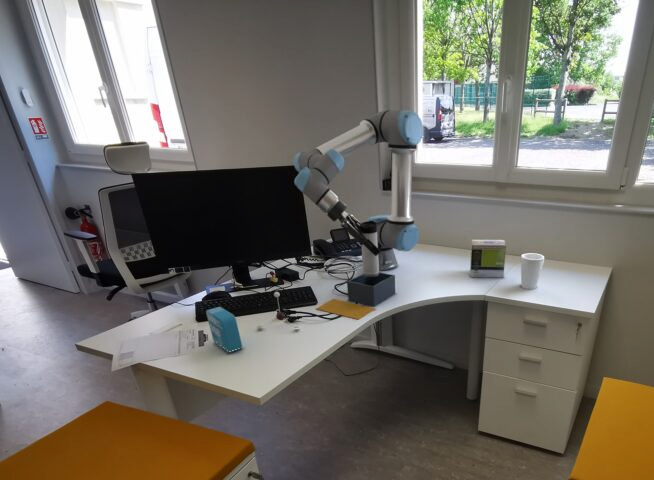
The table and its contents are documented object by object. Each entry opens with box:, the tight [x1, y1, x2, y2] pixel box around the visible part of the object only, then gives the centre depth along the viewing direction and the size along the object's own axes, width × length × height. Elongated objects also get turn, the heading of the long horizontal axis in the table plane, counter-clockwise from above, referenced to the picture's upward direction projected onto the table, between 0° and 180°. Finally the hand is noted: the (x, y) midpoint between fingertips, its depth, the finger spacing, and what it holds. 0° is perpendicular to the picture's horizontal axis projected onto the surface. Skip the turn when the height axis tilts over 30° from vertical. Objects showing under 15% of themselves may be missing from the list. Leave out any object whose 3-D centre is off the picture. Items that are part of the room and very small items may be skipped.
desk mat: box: [315, 298, 376, 321], centre depth 174 cm, size 20×11×1 cm, turn 61°
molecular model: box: [256, 291, 301, 332], centre depth 158 cm, size 13×15×13 cm
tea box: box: [469, 239, 507, 278], centre depth 204 cm, size 15×10×15 cm
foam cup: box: [520, 252, 545, 290], centre depth 191 cm, size 10×9×13 cm
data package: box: [205, 306, 243, 354], centre depth 145 cm, size 12×4×12 cm, turn 45°
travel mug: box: [360, 221, 380, 277], centre depth 175 cm, size 6×7×20 cm
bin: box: [346, 271, 396, 308], centre depth 183 cm, size 13×16×8 cm
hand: (379, 250), depth 175 cm, fingers closed on travel mug, 6 cm apart
